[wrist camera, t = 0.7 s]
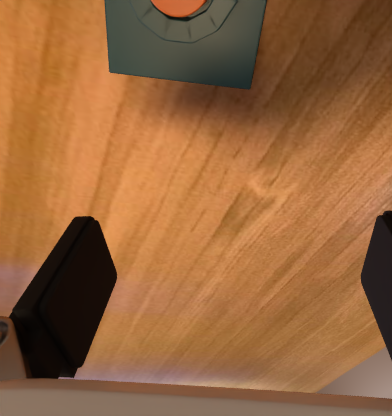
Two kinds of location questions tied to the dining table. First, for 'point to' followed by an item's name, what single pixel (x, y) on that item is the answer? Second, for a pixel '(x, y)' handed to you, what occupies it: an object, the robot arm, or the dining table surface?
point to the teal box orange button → (186, 41)
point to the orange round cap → (178, 6)
